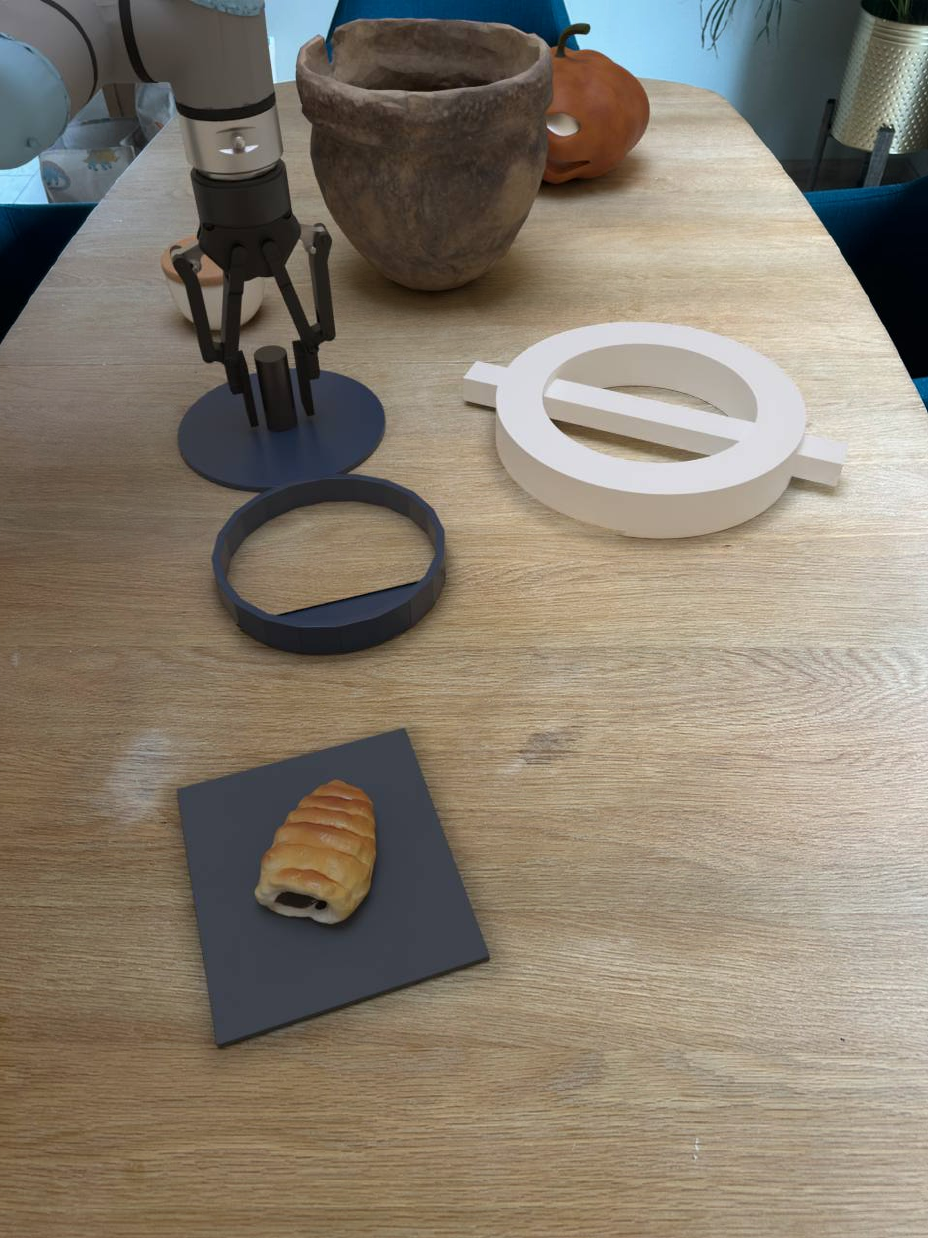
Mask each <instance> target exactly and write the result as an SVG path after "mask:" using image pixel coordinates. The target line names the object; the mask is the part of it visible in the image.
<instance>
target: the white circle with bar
mask: <svg viewBox="0 0 928 1238" xmlns="http://www.w3.org/2000/svg"><path fill="white" fill-rule="evenodd" d="M627 386H628V387H629V386H634V387H635V386H638V387H639V386H640V387H651V388H652V387H653V388H659V389H666V390H672V391H675V392H679V393H682V394H685V395H689V396H692V397H695V398H697V399H699V400H701V401H703V402H706V403H708V404H710V405H711V406H714V407H715V408H717V409H718V410H719V411H721V412H723V413H724V415H722V414H719V413H713V412H709V411H704V410H699V409H695V408H691V407H687V406H682V405H677V404H673V403H667V402H665V401H660V400H655V399H650V398H647V397H641V396H636V395H633V394H627V393H624V392H618V391H614V390H609V389H608V388H613V387H627ZM462 400H463V401H464V402H465V401H466V402H470V403H474V404H478V405H482V406H487V407H491V408H495V446H496V451H497V454H498V457H499V459H500V462H501V464H502V465H503V468H504V469H505V471H506V472H507V473H508V475H509V476H510V477H511V478H512V480H513V481H514V482H515V483H516V484H517V485H518V486H519V487H520V488H521V489H522V490H523V491H525V492H526V493H527V494H528V495H530V496H531V497H532V498H533V499H535V500H537V501H538V502H540V503H541V504H543V505H544V506H546V507H548V508H549V509H552V510H553V511H555V512H558V513H560V514H562V515H564V516H567V517H568V518H571V519H574V520H577V521H580V522H583V523H586V524H589V525H592V526H596V527H602V528H605V529H608V530H616V531H619V532H618V533H615V536H616V535H617V536H623V537H629V538H630V537H631V538H638V539H662V540H663V539H664V540H665V539H680V538H691V537H699V536H703V535H710V534H714V533H718V532H721V531H724V530H728V529H731V528H734V527H736V526H739V525H741V524H743V523H746V522H748V521H750V520H752V519H754V518H756V517H757V516H759V515H761V514H763V512H765V511H766V510H768V509H769V508H770V507H771V506H773V505H774V504H775V503H776V502H777V501H778V500H779V499H780V498H781V497H782V495H783V494H784V493H785V491H786V489H787V488H788V486H789V485H790V482H791V481H792V478H798V479H802V480H807V481H811V482H815V483H820V484H823V485H828V486H830V487H831V486H832V487H837V486H838V482H839V481H840V476H841V473H842V470H843V468H844V463H845V461H846V457H847V454H848V450H849V447H850V443H848V442H844V441H839V440H835V439H830V438H826V437H823V436H816V435H813V434H809V433H805V431H806V426H807V417H808V416H807V408H806V405H805V401H804V400H805V399H804V397H803V395H802V393H801V391H800V390H799V388H798V386H797V385H796V383H795V382H794V381H793V380H792V379H791V377H790V376H789V375H788V374H787V373H786V372H785V370H783V369H782V368H781V367H780V366H778V364H776V363H775V362H773V361H772V360H771V359H769V358H768V357H767V356H765V355H764V354H762V353H760V352H759V351H757V350H755V349H753V348H752V347H749V346H747V345H745V344H744V343H741V342H738V341H736V340H734V339H732V338H729V337H726V336H723V335H720V334H718V333H714V332H711V331H708V330H703V329H699V328H695V327H690V326H685V325H680V324H673V323H666V322H665V323H663V322H652V321H617V322H606V323H599V324H590V325H586V326H581V327H578V328H572V329H570V330H566V331H563V332H559V333H557V334H554V335H551V336H549V337H547V338H545V339H542V340H540V341H538V342H537V343H535V344H533V345H531V346H529V347H528V348H526V349H525V350H524V351H522V352H521V353H519V355H517V356H516V357H515V358H514V359H513V360H512V361H511V362H510V363H509V364H508V365H507V367H506V366H501V365H497V364H493V363H489V362H483V361H480V360H479V361H478V360H476V361H475V362H474V363H473V364H472V366H471V367H470V368H469V370H467V372H466V374H465V375H464V376H463V377H462ZM551 419H552V420H557V421H561V422H565V423H569V424H574V425H578V426H583V427H585V428H590V429H595V430H599V431H604V432H607V433H612V434H617V435H620V436H624V437H628V438H634V439H637V440H642V441H645V442H646V441H647V442H650V443H654V444H659V445H663V446H666V447H667V446H668V447H671V448H675V449H680V450H683V451H689V452H692V453H697V454H702V455H705V456H706V457H702V458H698V459H692V460H687V461H686V460H685V461H676V462H649V461H648V462H647V461H637V460H630V459H625V458H619V457H617V456H616V457H615V456H611V455H609V454H605V453H602V452H599V451H596V450H594V449H591V448H589V447H587V446H585V445H583V444H581V443H578V442H577V441H575V440H573V439H572V438H570V437H569V436H567V435H566V434H565V433H564V432H563V431H562V430H560V429H559V428H558V427H557V426H556V425H555V424H554V422H553V421H552V420H551Z"/></svg>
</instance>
